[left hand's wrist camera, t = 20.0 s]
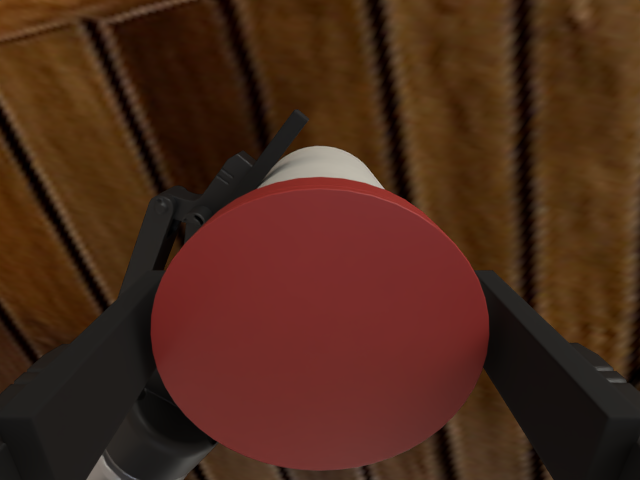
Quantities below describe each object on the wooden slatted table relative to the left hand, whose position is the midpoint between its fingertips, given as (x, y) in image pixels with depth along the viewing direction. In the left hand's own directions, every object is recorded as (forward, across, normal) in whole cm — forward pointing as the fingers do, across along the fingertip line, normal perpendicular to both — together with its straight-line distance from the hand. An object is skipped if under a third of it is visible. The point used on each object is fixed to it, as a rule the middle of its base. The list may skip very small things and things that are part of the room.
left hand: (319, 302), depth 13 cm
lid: (-3, 0, 0) cm, 3 cm away
